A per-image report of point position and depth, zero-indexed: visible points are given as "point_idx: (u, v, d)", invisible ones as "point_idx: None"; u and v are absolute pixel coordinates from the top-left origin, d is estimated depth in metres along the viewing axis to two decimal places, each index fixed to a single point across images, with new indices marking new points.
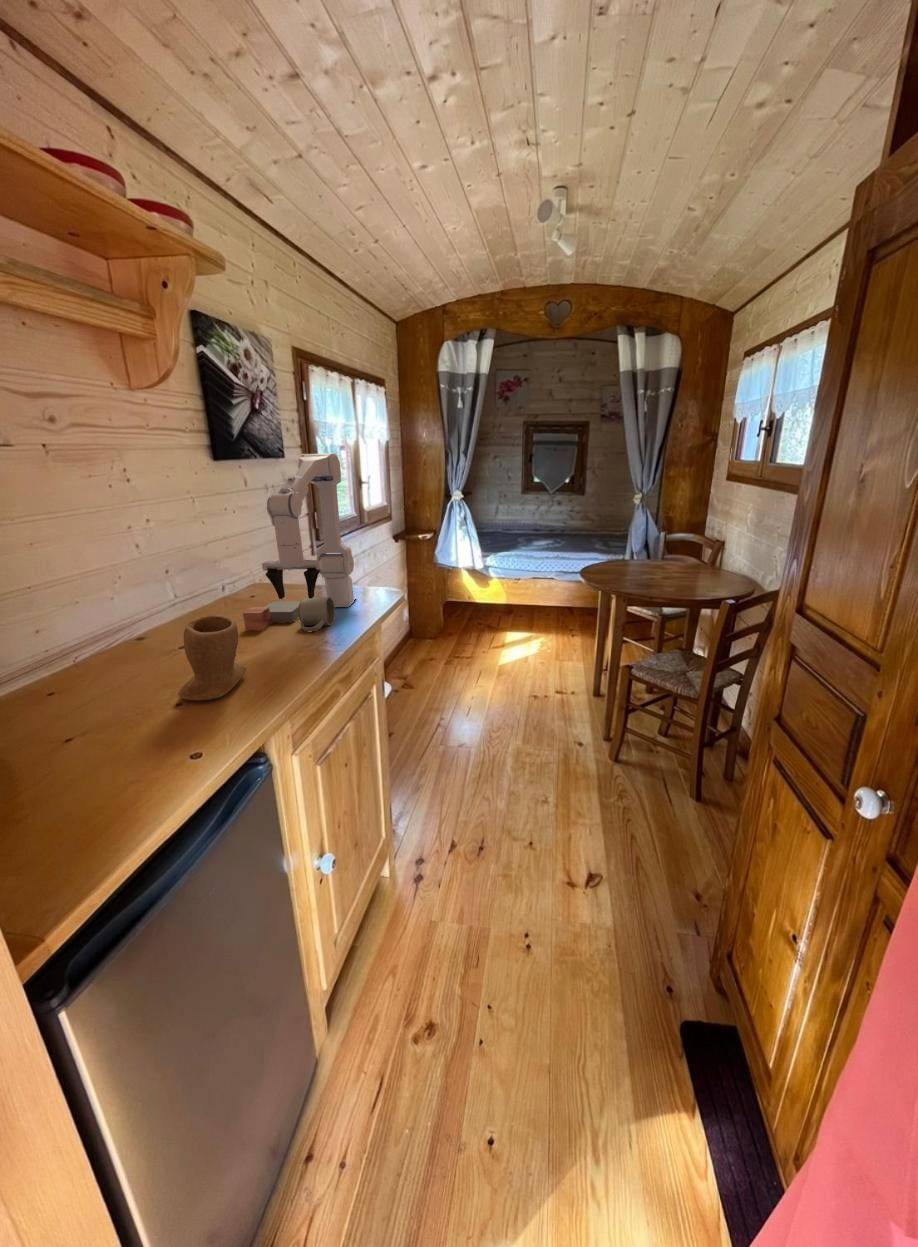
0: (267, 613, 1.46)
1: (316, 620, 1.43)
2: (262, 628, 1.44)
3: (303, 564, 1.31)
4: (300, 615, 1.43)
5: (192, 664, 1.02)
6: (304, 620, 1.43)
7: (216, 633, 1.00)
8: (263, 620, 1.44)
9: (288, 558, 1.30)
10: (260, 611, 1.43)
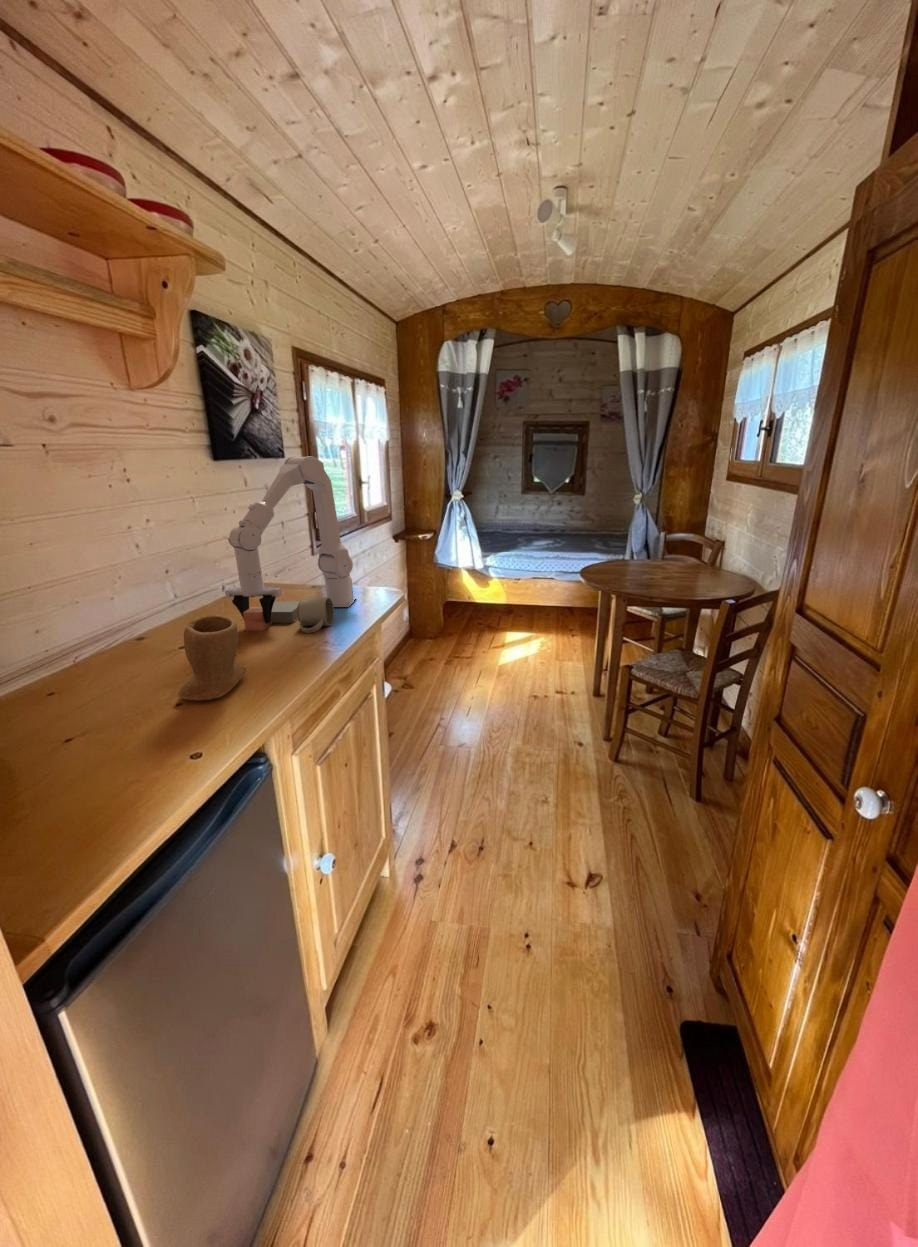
0: None
1: (315, 621, 1.42)
2: (262, 628, 1.44)
3: (262, 592, 1.41)
4: (299, 616, 1.43)
5: (192, 664, 1.02)
6: (303, 621, 1.43)
7: (216, 633, 1.00)
8: (263, 620, 1.44)
9: (248, 586, 1.40)
10: (260, 611, 1.43)
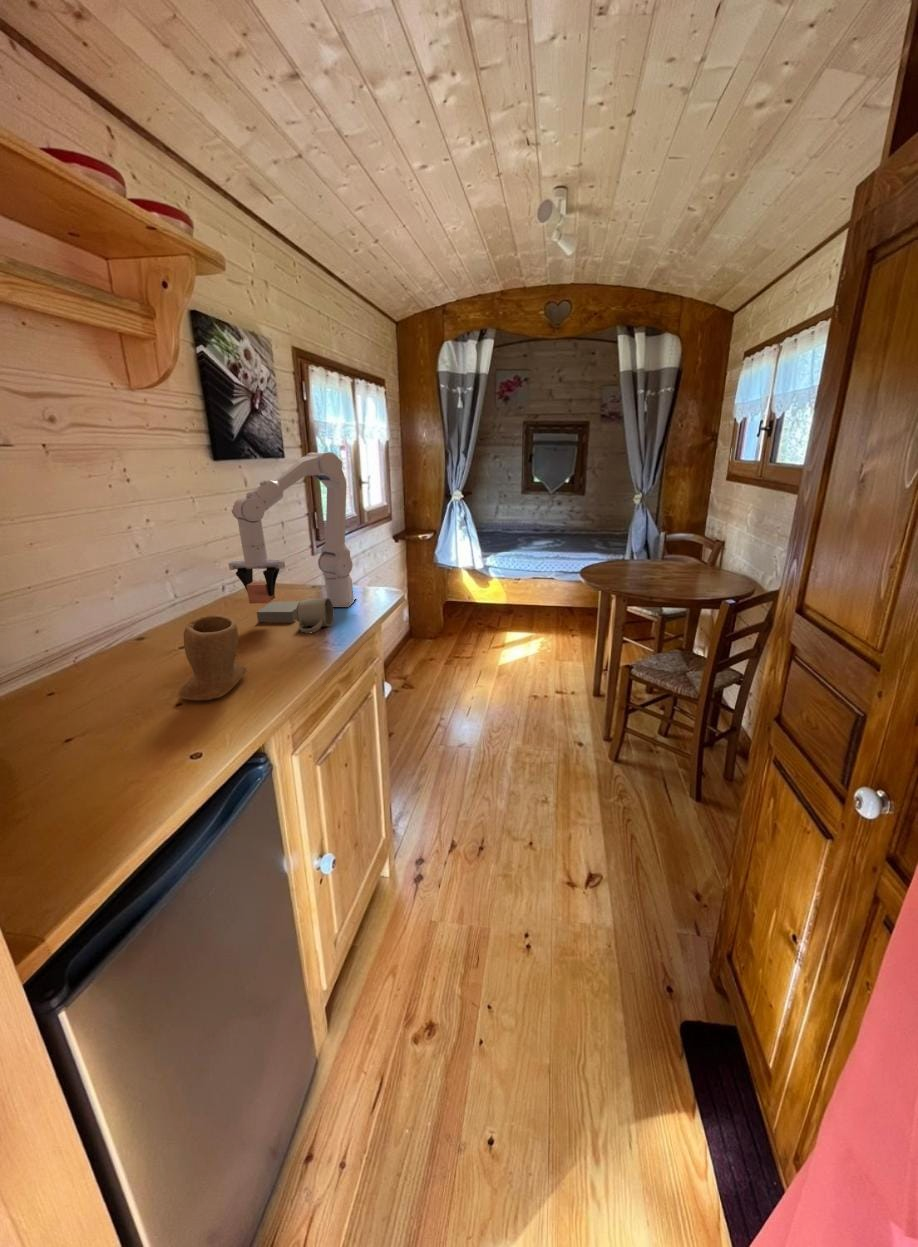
0: None
1: (314, 621, 1.42)
2: (266, 600, 1.44)
3: (266, 564, 1.41)
4: (298, 616, 1.42)
5: (192, 664, 1.02)
6: (302, 621, 1.42)
7: (216, 633, 1.00)
8: (267, 593, 1.44)
9: (252, 558, 1.40)
10: (263, 583, 1.43)
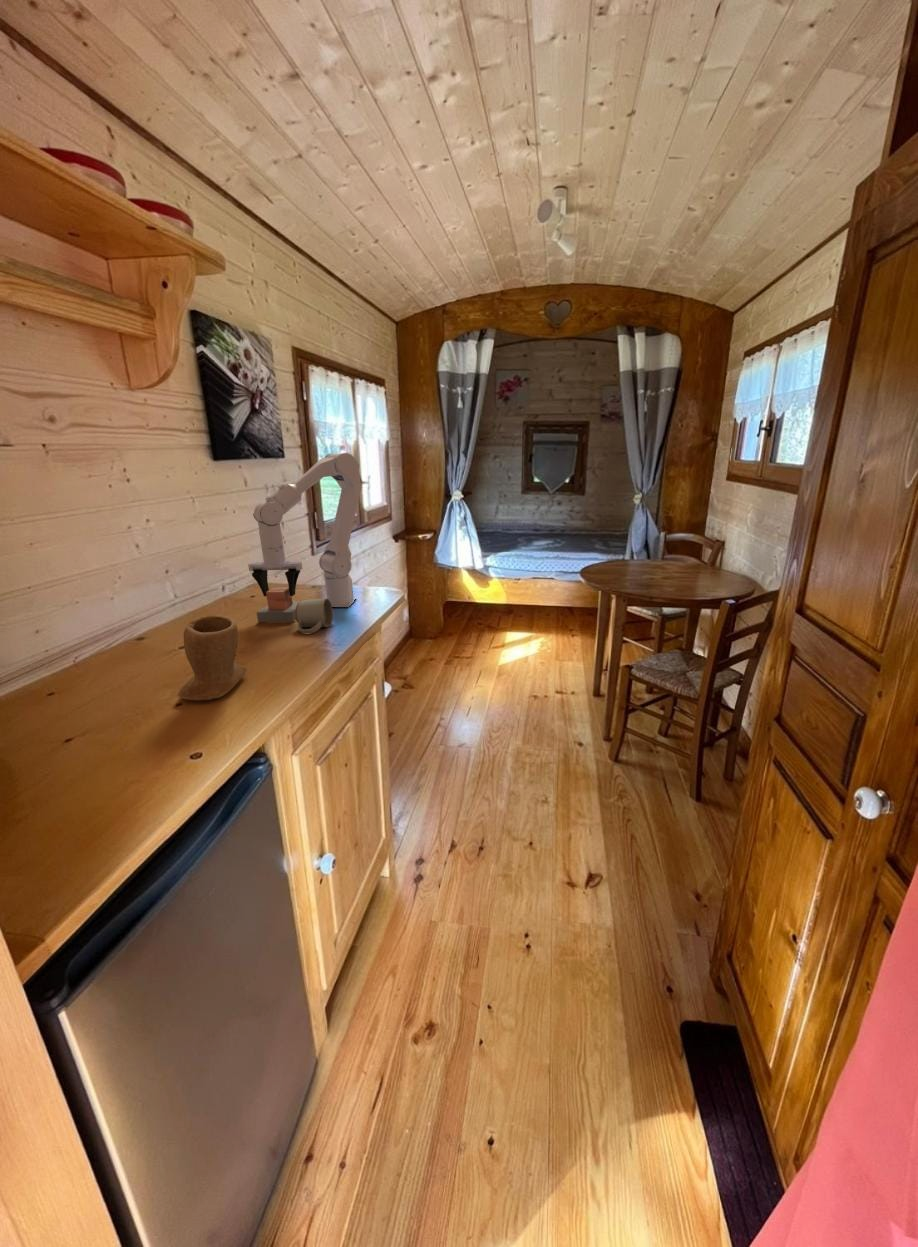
0: (288, 592, 1.53)
1: (314, 622, 1.42)
2: (284, 607, 1.51)
3: (284, 565, 1.48)
4: (297, 617, 1.42)
5: (192, 664, 1.02)
6: (301, 622, 1.42)
7: (216, 633, 1.00)
8: (285, 599, 1.51)
9: (271, 560, 1.47)
10: (282, 590, 1.51)
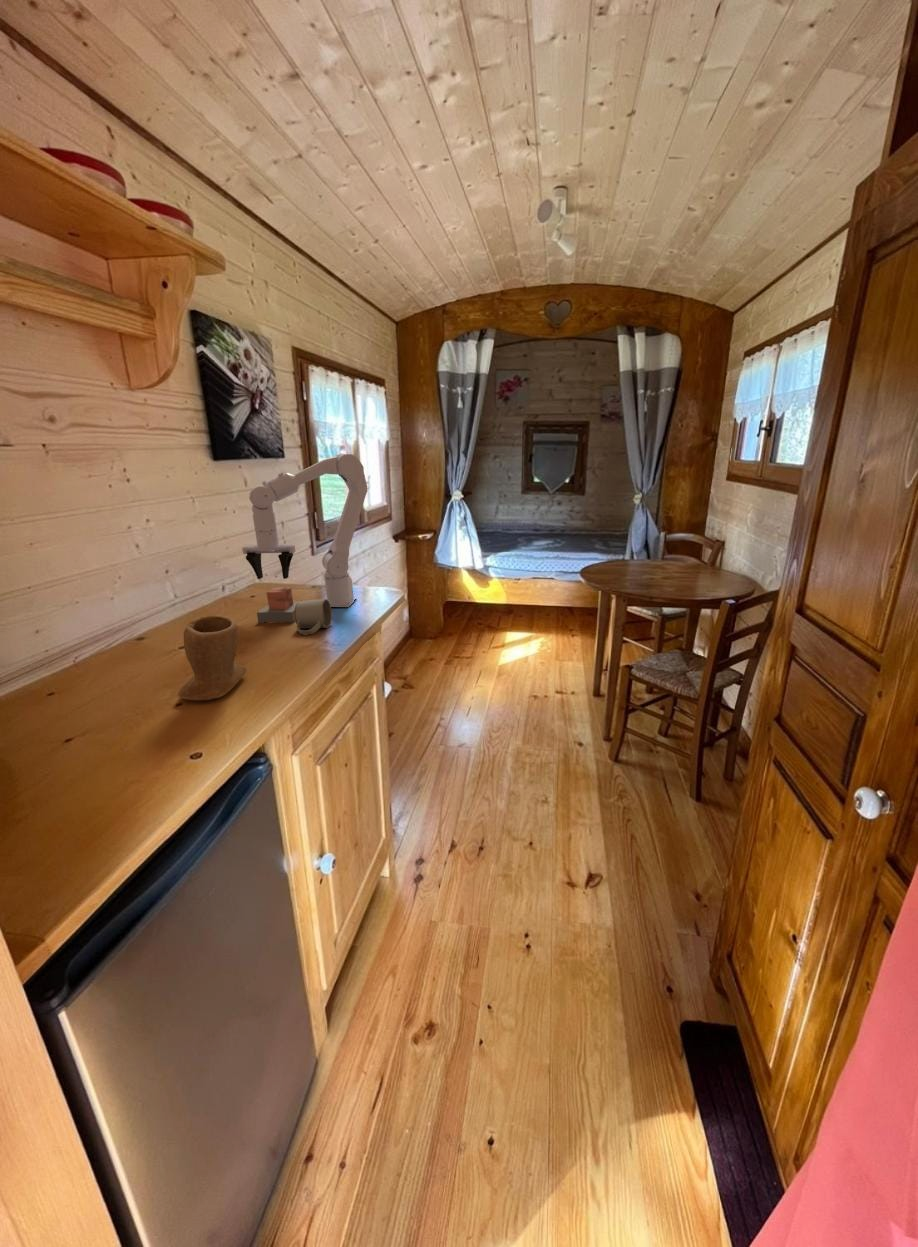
0: (289, 593, 1.53)
1: (312, 623, 1.41)
2: (284, 607, 1.51)
3: (278, 548, 1.50)
4: (296, 618, 1.41)
5: (192, 664, 1.02)
6: (300, 623, 1.41)
7: (216, 633, 1.00)
8: (286, 600, 1.51)
9: (264, 543, 1.49)
10: (283, 591, 1.51)
